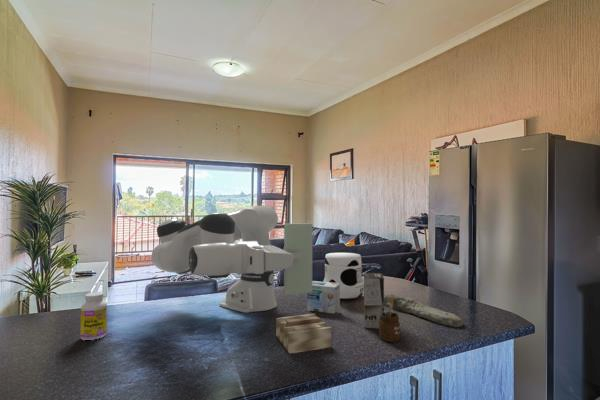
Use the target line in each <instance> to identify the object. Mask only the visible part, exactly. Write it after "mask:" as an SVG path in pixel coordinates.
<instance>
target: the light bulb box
mask: <svg viewBox="0 0 600 400" xmlns="http://www.w3.org/2000/svg"><path fill="white" fill-rule="evenodd" d="M306 294H307V296H306V297H307V298H306V299H307V302H306V303H307V304H306V306H307V310H306V312H311V311H313V312H320V313H327V314H335V313H337V314H339V313H340V311H341V309H340V308H341V305H340V304H341V303H340V302H341V300H340V283H331V282H323V281H317V280H312V292H309V293H306Z"/></svg>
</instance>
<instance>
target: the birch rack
mask: <svg viewBox="0 0 600 400" xmlns="http://www.w3.org/2000/svg"><path fill="white" fill-rule="evenodd" d="M313 316H316V313H309V314H308V313H307V314H299V315H298V314H297V315H292V316H282V317H276V319H275V321H276V322H275V327H276V328H275V336H276V337H277V339H278V340H279V342H280V343H281V344H282V346H283V347H284V348H285V350H286V351H287V352H288V354H297V353H303V352H304V353H305V352H309V351H315V350H322V349H327V348H329V349H330V348H333V346H332V341H333V339H332V335H333V334H332V333H333V332H332V328H333V327H331V326H327V323H326V321H322V322H321V317H318V318H319V323H312V324H305V325H297V326H289V327H286V320H289V319H297V318H305V317H313ZM311 325H319V326H320V327H321V328H316V329H308V330H301V331H294V328H296V327H303V326H311Z"/></svg>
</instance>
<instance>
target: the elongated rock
mask: <svg viewBox="0 0 600 400" xmlns="http://www.w3.org/2000/svg"><path fill="white" fill-rule="evenodd" d="M388 295H389V303H390V295H391V303H392V295H393V306H392V308H393V310H396V309H397V310H396V311H400V310H401V312H404V313H407V314H413V315H414V316H417V317H419V318H422V319H423V318H424V319H426V320H429V321H431V322H433V323H436V324H439V325H442V326H447V327H452V328H460V327H462V326H463V319H462V318H461V317H459V316H457V315H456V314H455V313H451V312H448V311H446V310H442V309H439V308H436V307H433V306H429V305H426V304H425V303H422V302H420V301H418V300H417V299H415V298H412V297H411V298H410V297H406V296H397V295H394V294H392V293H391V294H390V293H389V294H387V293H386V294H385V293H384V305H385V306H386V307H388V308H390V306H388V304H387V303H388ZM386 304H387V305H386Z"/></svg>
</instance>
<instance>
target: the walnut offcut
mask: <svg viewBox="0 0 600 400" xmlns="http://www.w3.org/2000/svg"><path fill="white" fill-rule="evenodd" d="M319 318H320V317H318V316H317V315H315V316H313V317H305V318H297V319H289V320H286V327H289V326H297V325H305V324H312V323H319Z"/></svg>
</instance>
